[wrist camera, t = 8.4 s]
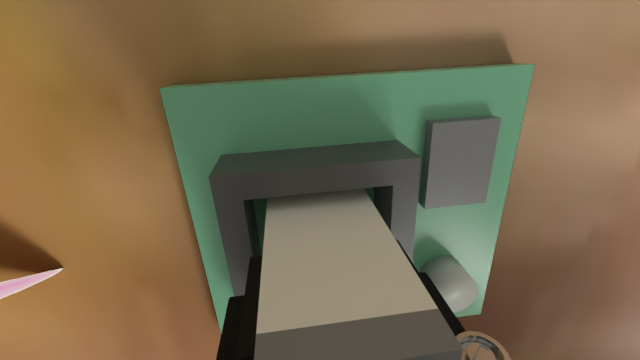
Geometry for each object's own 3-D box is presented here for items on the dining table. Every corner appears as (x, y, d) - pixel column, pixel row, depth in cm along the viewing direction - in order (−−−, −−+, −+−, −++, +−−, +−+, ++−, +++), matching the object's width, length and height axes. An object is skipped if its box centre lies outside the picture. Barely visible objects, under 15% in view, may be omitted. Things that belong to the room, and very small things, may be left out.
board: (513, 63, 14) (589, 66, 10) (469, 298, 19) (508, 350, 16) (170, 84, 12) (129, 97, 9) (228, 332, 18) (217, 395, 14)
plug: (360, 182, 13) (463, 348, 6) (360, 274, 15) (436, 483, 8) (267, 192, 13) (252, 381, 5) (279, 284, 15) (280, 514, 7)
